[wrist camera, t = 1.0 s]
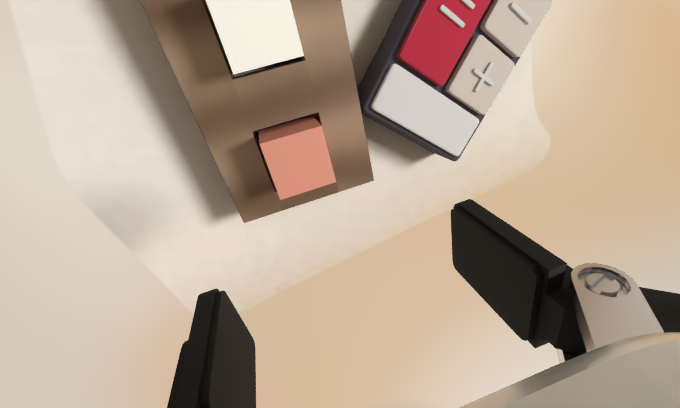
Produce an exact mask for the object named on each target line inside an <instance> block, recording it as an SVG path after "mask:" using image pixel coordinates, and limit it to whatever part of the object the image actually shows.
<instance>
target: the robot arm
mask: <svg viewBox="0 0 680 408" xmlns="http://www.w3.org/2000/svg"><path fill="white" fill-rule="evenodd" d="M451 230H452V255H453V265H454V267H455V269H456V270H457V271H458V272H459V273H460V275H462V277H463V278H464V279H465V280H466V281H467V282H468V283H469V284H470V285H471V286H472V287H473V288H474V290H475V291H477V293H478V294H479V295H480V296H481V297H482V298H483V299H484V300H485V301H486V302H487V303H488V304H489V305H490V306H491V308H492V309H493V310H494V311H495V312H496V313H497V314H498V315H499V316H500V317H501V318H502V319H503V320H504V321H505V322H506V323H507V325H508V326H509V327H510V328H511V329H512V330H513V331H514V332H515V333H516V334H517V335H518V336H519V337H520V338H521V339H522V340H525V341H526V340H528V341H529V342H530V343H531V344H532V345H533V347H535V348H537V347H539V346H541V345H544V344H546V343H549V342H550V343H551V344H552V345H553V346H554V347H555V348H556V349H557V353H558V357H559V361H560V364H558V365H556V366H553V367H551V368H549V369H546V370H544V371H542V372H540V373H537V374H535V375H533V376H531V377H528V378H526V379H524V380H521V381H519V382H517V383H515V384H512V385H510V386H508V387H505V388H503V389H501V390H499V391H496V392H494V393H492V394H489V395H487V396H485V397H483V398H480V399H478V400H476V401H474V402H471V403H469V404H467V405H465V406H462V407H460V408H680V294H677V293H671V292H665V291H658V290H653V289H647V288H641V287H638V285H637V283H636V282H635V281H634V280H633V279H632V278H631V277H630V276H629V275H627V274H626V273H625V272H622V271H620V270H618V269H616V268H614V267H611V266H607V265H603V264H596V263H586V264H582V265H579V266H577V267H575V268H574V269H572V268H571V267H569V266H568V265H567V263H566V262H564V261H563V260H561V259H560V258H558V257H557V256H555V255H554V254H552V253H551V252H549V251H548V250H546V249H544V248H543V247H542V246H540V245H539V244H537V243H536V242H534V241H533V240H531V239H530V238H528V237H527V236H525V235H524V234H522V233H521V232H519V231H518V230H516V229H515V228H513V227H512V226H510V225H509V224H507V223H506V222H504V221H503V220H501V219H500V218H498V217H496V216H495V215H494V214H492V213H491V212H489V211H488V210H486V209H485V208H483V207H482V206H480V205H479V204H477V203H476V202H474V201H473V200H471V199H468V200H466V201H463V202H460V203H457V204H455V205H454V209H452V210H451ZM167 408H256V372H255V343H254V340H253V338H252V336H251V334H250V332H249V331H248V329H247V327H246V326H245V324H244V322H243V321H242V319H241V317H240V316H239V314H238V312H237V311H236V309H235V307H234V306H233V304H232V302H231V300H230V299H229V297H228V295H227V294H226V292H225V291H221V292H220V291H219V290H218V289H214V290H211V291H208V292H205V293H202V294H200V295H199V296H198V299H197V304H196V308H195V313H194V317H193V322H192V326H191V331H190V335H189V340H188V341H186V342H185V343H184V344H183V345H182V348H181V352H180V356H179V360H178V364H177V368H176V373H175V377H174V381H173V385H172V389H171V394H170V398H169V402H168V406H167Z"/></svg>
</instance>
